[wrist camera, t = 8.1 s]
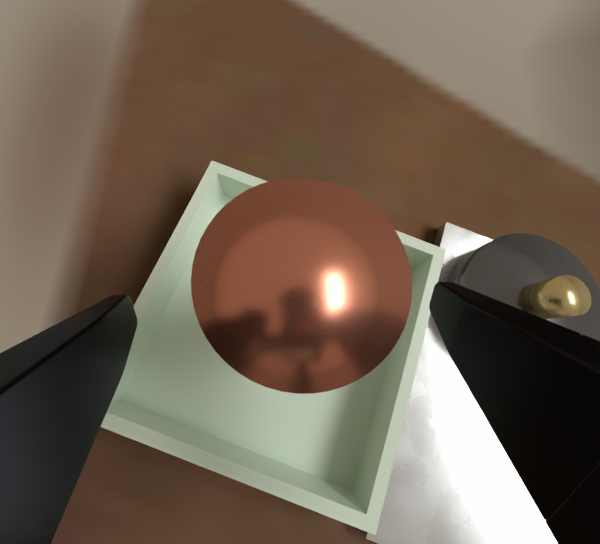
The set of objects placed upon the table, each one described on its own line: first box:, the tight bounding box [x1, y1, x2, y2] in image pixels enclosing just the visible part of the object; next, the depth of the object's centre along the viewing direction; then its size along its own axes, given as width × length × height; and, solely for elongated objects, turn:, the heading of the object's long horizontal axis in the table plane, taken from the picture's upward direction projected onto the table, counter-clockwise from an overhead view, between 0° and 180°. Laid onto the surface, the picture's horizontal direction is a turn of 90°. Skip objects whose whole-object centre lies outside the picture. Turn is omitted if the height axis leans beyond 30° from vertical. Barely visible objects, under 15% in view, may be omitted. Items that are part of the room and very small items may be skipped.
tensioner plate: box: [362, 222, 600, 544], centre depth 16 cm, size 18×10×5 cm, turn 160°
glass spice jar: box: [191, 177, 412, 394], centre depth 11 cm, size 4×4×12 cm
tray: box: [101, 161, 446, 535], centre depth 16 cm, size 14×14×3 cm
